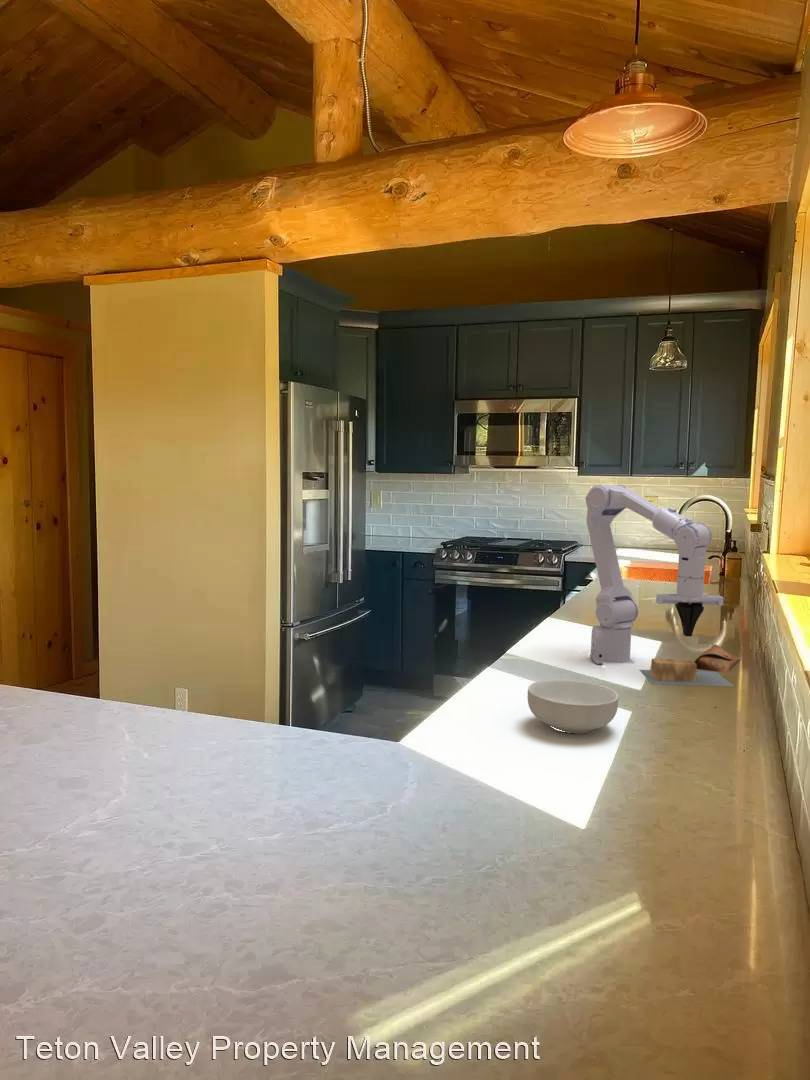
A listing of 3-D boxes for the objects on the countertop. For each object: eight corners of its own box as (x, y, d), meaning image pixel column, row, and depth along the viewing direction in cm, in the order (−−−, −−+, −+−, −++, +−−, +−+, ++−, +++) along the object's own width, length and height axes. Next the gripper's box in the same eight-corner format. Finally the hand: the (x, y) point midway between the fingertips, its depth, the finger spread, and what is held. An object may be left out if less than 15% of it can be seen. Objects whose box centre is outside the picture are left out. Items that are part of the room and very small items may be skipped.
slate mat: (652, 686, 178) (652, 683, 178) (638, 672, 190) (638, 669, 190) (734, 688, 177) (734, 686, 177) (715, 674, 189) (715, 671, 189)
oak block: (695, 681, 181) (655, 680, 181) (690, 676, 185) (650, 675, 185) (696, 664, 180) (656, 663, 181) (691, 659, 184) (651, 658, 185)
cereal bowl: (619, 746, 140) (621, 707, 140) (524, 738, 144) (525, 700, 143) (614, 716, 157) (616, 681, 156) (528, 709, 160) (530, 675, 159)
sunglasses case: (730, 676, 188) (716, 649, 189) (702, 686, 191) (689, 661, 193) (743, 660, 203) (731, 636, 204) (718, 670, 206) (705, 646, 208)
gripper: (663, 578, 178) (660, 638, 180) (729, 580, 178) (725, 640, 179) (655, 573, 185) (652, 631, 187) (718, 575, 185) (715, 633, 186)
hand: (687, 635), depth 183 cm, fingers closed
